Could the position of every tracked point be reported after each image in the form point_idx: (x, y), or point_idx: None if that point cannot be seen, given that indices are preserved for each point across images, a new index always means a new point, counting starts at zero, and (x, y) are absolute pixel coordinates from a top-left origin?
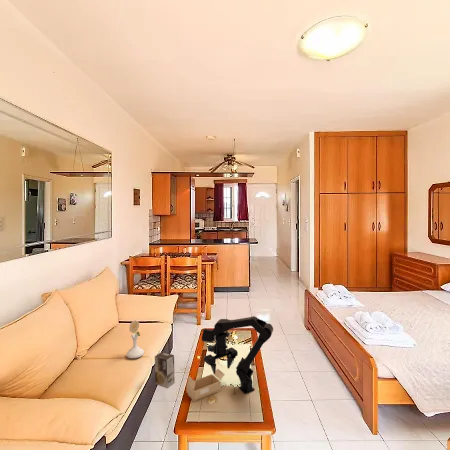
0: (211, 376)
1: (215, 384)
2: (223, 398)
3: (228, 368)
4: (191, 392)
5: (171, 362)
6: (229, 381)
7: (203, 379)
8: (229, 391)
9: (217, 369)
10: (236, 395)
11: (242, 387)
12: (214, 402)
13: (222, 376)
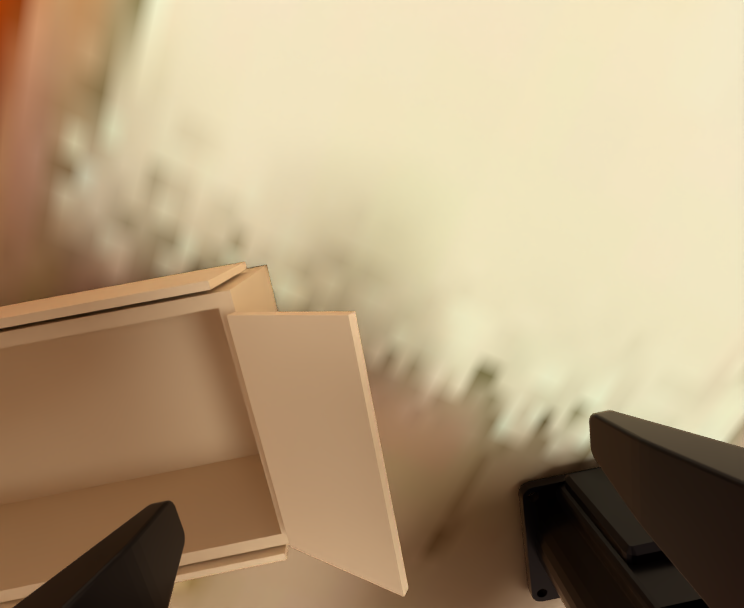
0: (200, 307)
1: (194, 565)
2: (289, 573)
3: (596, 460)
4: None
5: None
6: (497, 314)
7: (13, 342)
8: (401, 493)
9: (333, 335)
10: (439, 573)
11: (554, 581)
12: (173, 598)
13: (348, 568)
